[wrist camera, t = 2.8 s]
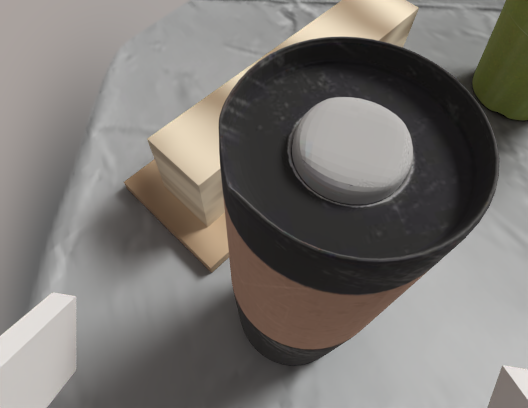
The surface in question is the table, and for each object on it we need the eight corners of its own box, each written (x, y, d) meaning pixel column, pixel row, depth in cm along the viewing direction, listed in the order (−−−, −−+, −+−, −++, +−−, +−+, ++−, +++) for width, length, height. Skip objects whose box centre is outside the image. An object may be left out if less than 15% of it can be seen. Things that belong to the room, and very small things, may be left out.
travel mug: (366, 299, 29) (546, 108, 11) (308, 396, 26) (430, 341, 8) (277, 240, 31) (313, -1, 13) (214, 323, 28) (150, 154, 10)
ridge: (345, 25, 43) (361, -42, 36) (425, 75, 39) (458, 11, 33) (127, 188, 33) (98, 134, 26) (211, 272, 30) (201, 233, 23)
